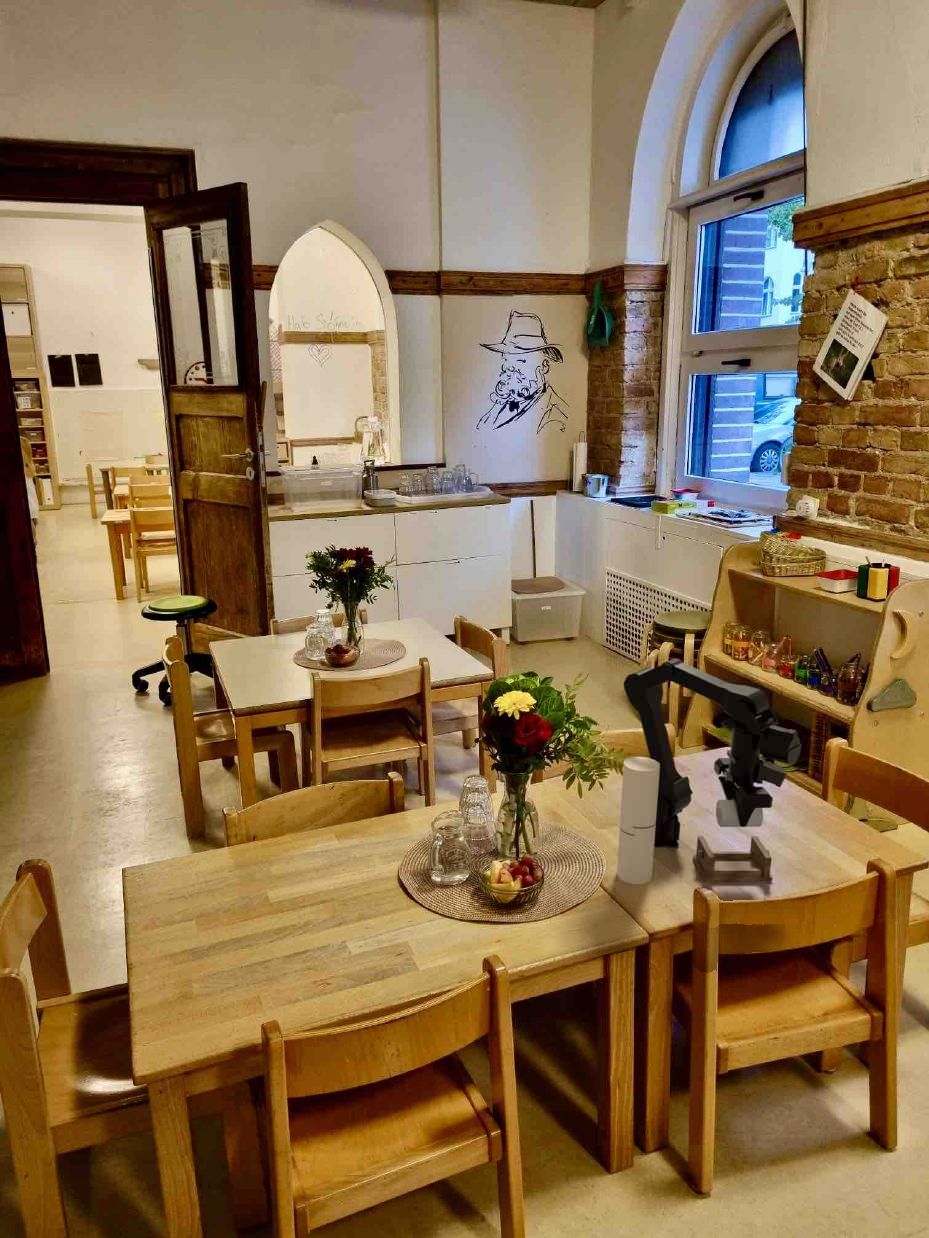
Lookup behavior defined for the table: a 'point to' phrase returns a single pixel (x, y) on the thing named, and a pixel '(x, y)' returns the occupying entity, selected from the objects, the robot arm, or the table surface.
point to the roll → (735, 815)
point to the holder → (733, 863)
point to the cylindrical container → (638, 820)
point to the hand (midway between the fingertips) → (738, 819)
